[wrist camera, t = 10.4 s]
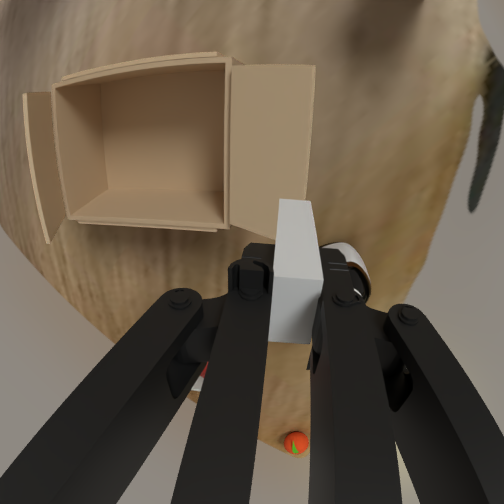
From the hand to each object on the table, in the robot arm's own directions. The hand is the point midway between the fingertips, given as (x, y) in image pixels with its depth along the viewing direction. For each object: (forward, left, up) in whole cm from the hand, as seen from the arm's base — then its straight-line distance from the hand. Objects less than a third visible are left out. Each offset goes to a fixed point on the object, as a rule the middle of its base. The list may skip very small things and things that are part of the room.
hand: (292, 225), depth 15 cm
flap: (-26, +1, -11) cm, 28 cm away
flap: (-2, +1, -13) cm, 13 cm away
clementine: (+10, -75, -27) cm, 80 cm away
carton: (-17, +1, -26) cm, 31 cm away
